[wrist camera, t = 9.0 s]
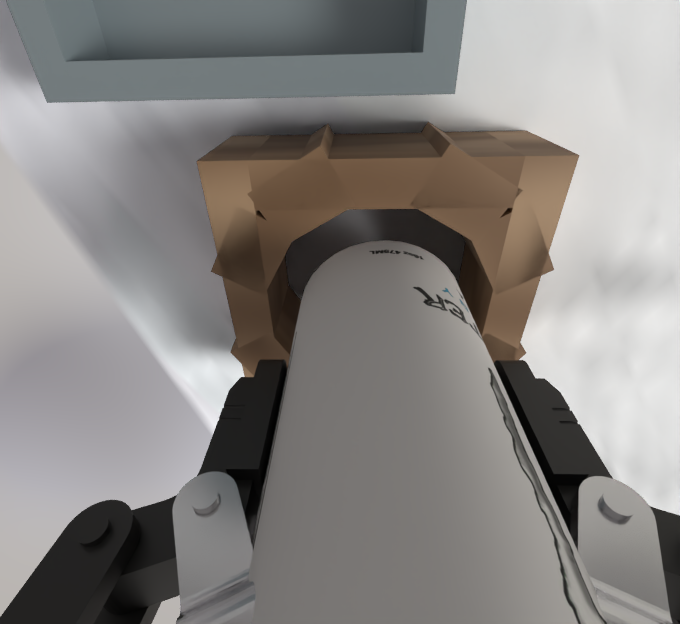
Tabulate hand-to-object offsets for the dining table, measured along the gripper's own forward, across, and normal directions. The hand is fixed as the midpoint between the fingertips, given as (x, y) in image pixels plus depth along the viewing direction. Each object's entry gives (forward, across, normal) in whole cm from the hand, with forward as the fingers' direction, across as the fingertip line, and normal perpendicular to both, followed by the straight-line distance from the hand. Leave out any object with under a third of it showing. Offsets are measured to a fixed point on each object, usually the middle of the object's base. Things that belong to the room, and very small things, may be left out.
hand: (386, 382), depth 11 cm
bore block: (+7, 0, 0) cm, 7 cm away
